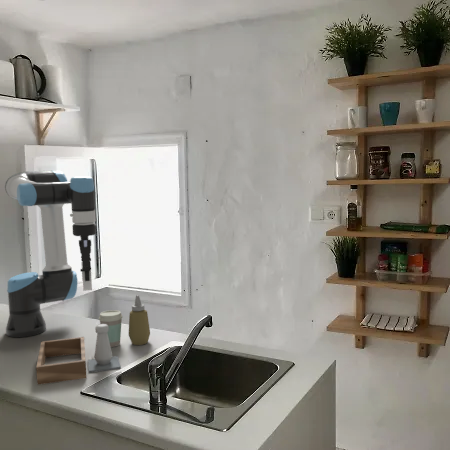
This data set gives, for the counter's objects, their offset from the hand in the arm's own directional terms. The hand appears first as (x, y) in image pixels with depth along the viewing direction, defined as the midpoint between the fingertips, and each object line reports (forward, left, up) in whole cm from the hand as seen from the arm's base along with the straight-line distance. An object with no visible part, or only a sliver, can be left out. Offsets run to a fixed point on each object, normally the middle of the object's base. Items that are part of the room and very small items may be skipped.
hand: (86, 285), depth 171 cm
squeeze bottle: (-8, +18, -26) cm, 32 cm away
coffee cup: (-10, +8, -26) cm, 29 cm away
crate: (+6, -9, -26) cm, 28 cm away
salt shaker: (+9, +4, -25) cm, 27 cm away
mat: (+9, +4, -26) cm, 27 cm away
